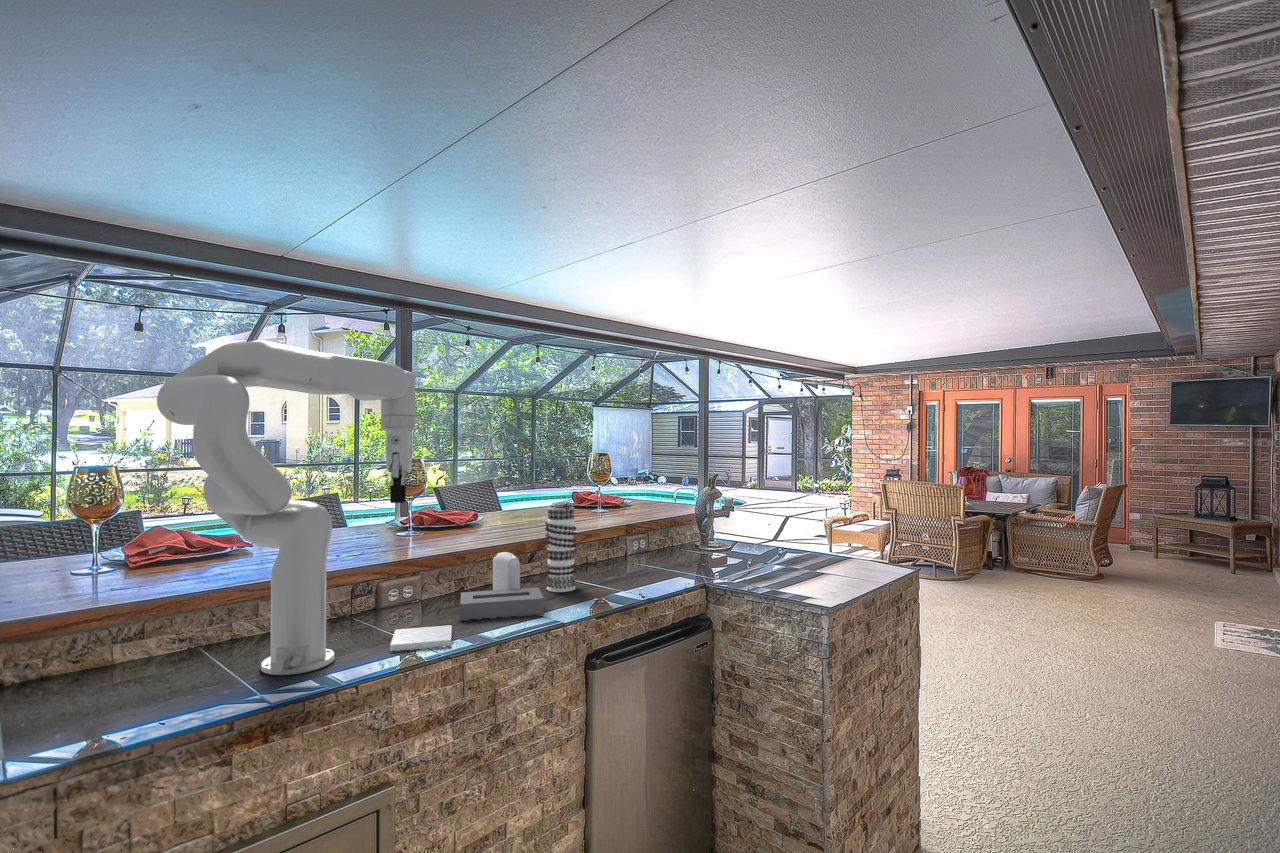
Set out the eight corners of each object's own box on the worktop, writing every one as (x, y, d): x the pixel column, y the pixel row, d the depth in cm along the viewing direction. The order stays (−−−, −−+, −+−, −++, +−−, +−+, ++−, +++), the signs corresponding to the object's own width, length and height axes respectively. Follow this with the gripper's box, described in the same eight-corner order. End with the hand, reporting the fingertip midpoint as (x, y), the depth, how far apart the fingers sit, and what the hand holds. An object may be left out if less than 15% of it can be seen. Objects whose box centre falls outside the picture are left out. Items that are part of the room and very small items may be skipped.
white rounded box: (490, 595, 176) (490, 551, 177) (504, 592, 179) (504, 549, 179) (508, 602, 169) (508, 556, 169) (522, 599, 171) (522, 554, 172)
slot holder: (543, 614, 157) (543, 598, 157) (460, 620, 151) (460, 604, 152) (538, 602, 168) (538, 587, 168) (460, 607, 163) (460, 592, 163)
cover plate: (451, 633, 143) (451, 649, 133) (395, 638, 140) (390, 654, 129) (451, 625, 143) (451, 639, 133) (395, 629, 140) (390, 645, 129)
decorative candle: (539, 588, 185) (539, 502, 185) (566, 583, 190) (566, 500, 191) (554, 594, 177) (554, 505, 178) (582, 589, 183) (582, 503, 184)
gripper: (412, 422, 141) (412, 505, 140) (417, 424, 155) (417, 499, 155) (376, 422, 139) (376, 506, 138) (385, 424, 153) (384, 500, 153)
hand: (397, 502), depth 146 cm, fingers closed
